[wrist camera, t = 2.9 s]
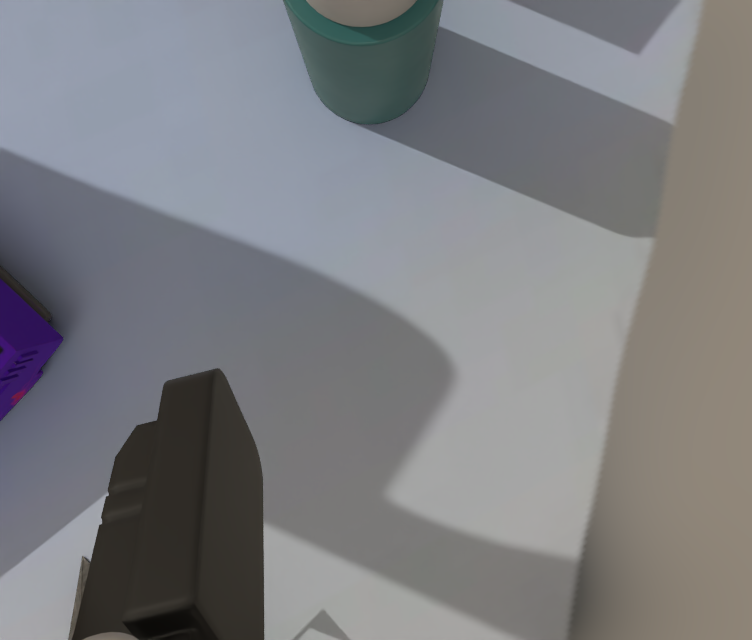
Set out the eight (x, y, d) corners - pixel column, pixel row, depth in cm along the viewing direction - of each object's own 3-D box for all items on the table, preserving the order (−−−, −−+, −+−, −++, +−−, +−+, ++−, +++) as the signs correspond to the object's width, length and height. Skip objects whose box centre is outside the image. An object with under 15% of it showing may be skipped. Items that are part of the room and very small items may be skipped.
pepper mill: (284, 75, 28) (208, -91, 16) (358, -24, 28) (337, -266, 16) (379, 149, 28) (376, 41, 16) (454, 52, 28) (507, -133, 16)
